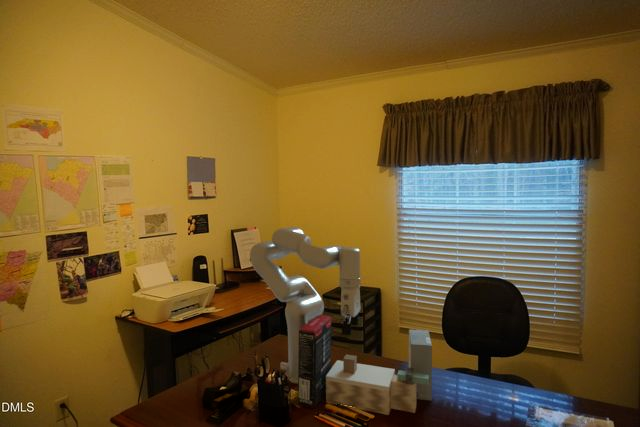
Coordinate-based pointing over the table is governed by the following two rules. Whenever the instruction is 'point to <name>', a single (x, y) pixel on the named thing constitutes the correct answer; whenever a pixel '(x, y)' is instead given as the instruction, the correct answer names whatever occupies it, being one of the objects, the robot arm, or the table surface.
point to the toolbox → (375, 395)
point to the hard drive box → (421, 360)
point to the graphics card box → (314, 360)
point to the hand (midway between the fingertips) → (350, 329)
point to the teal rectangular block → (414, 377)
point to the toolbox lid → (360, 374)
